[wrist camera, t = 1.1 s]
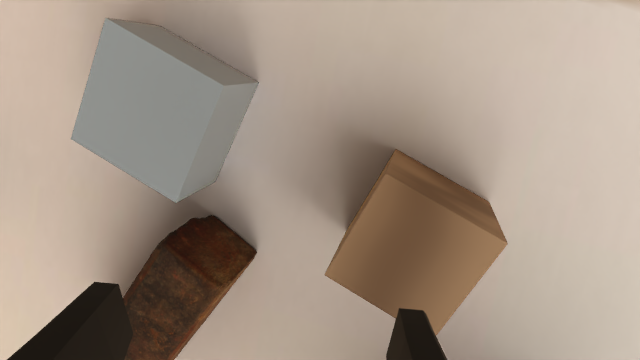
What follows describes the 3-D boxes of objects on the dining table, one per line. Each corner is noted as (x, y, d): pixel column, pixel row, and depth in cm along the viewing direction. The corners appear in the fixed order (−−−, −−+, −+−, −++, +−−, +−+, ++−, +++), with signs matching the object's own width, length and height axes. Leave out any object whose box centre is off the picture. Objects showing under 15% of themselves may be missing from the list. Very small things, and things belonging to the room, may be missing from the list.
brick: (207, 205, 24) (157, 237, 19) (262, 250, 23) (223, 292, 19) (128, 320, 27) (71, 369, 23) (175, 360, 27) (126, 416, 23)
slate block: (260, 82, 21) (223, 85, 17) (216, 180, 23) (175, 203, 19) (161, 26, 22) (105, 17, 18) (127, 127, 24) (70, 138, 20)
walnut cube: (489, 201, 20) (507, 243, 15) (431, 280, 21) (432, 340, 17) (395, 148, 20) (386, 173, 15) (346, 230, 22) (324, 275, 17)
